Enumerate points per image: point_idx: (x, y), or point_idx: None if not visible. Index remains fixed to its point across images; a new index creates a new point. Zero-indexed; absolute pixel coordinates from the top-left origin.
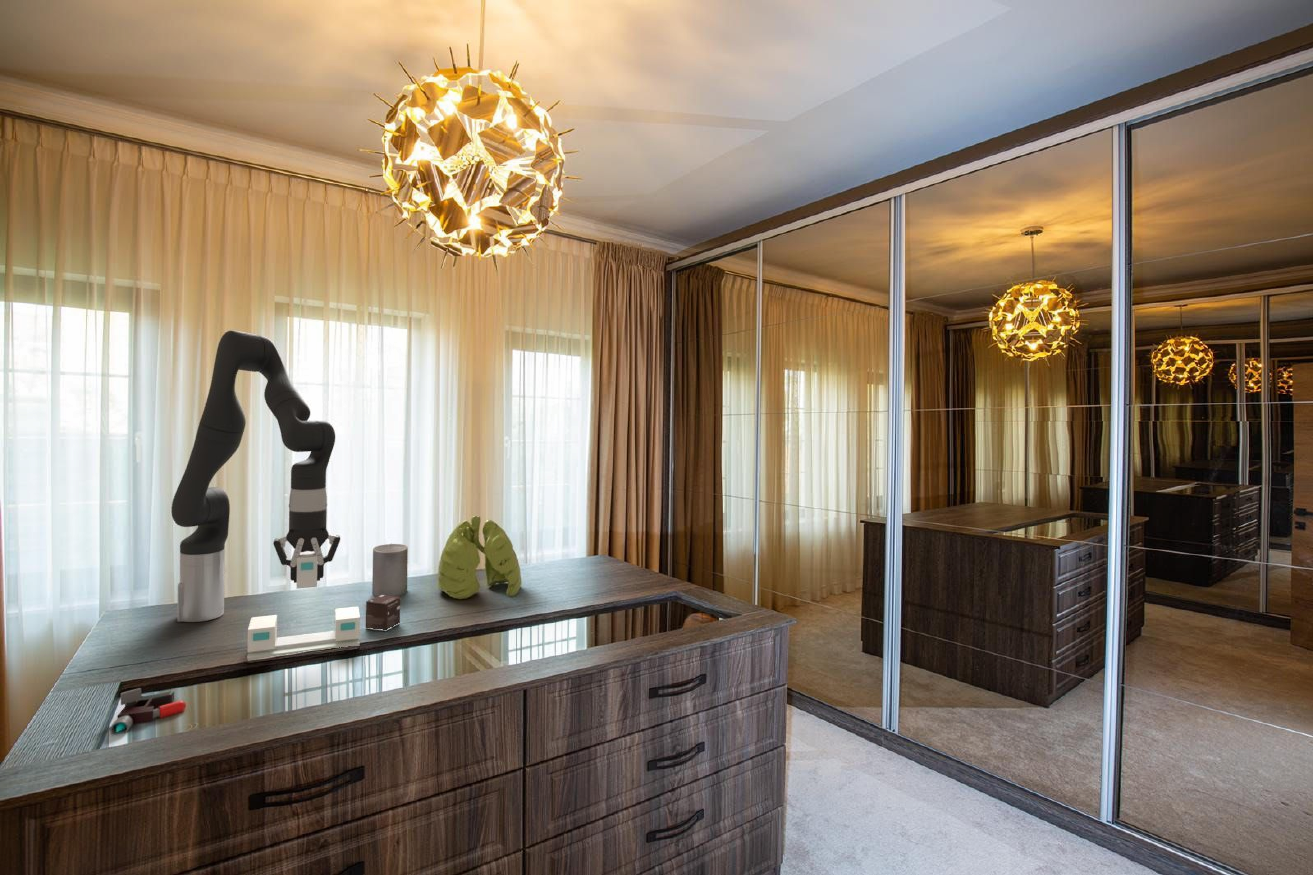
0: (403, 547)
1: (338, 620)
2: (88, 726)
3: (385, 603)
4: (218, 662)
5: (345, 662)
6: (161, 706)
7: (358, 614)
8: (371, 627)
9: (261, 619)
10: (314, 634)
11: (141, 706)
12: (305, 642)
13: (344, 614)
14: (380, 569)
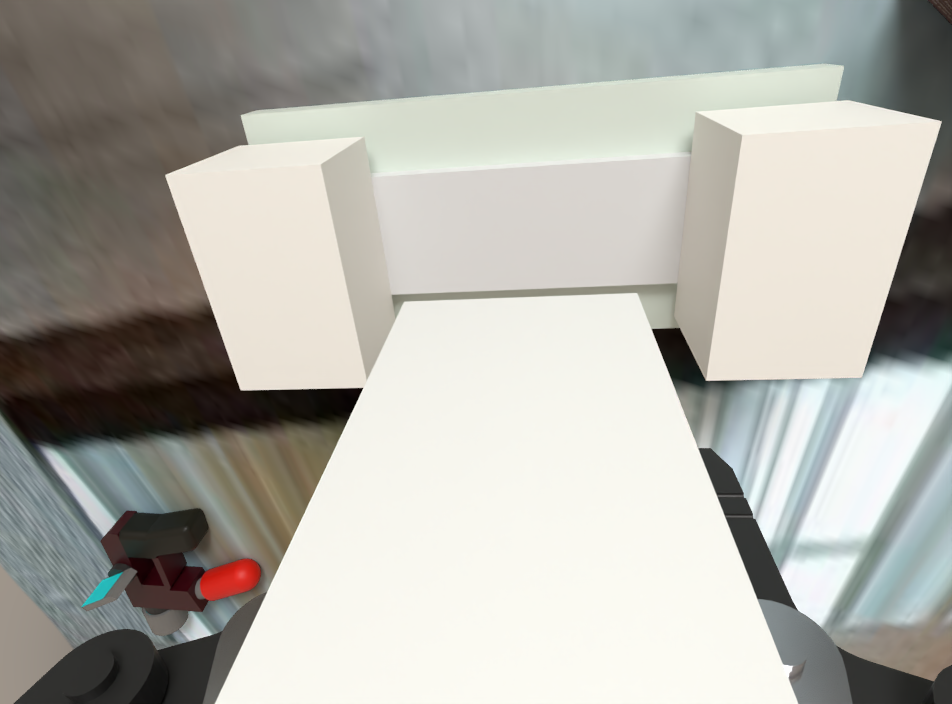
0: None
1: (720, 377)
2: (84, 564)
3: None
4: (189, 269)
5: (688, 422)
6: (208, 597)
7: (871, 324)
8: (946, 9)
9: (248, 240)
10: (570, 178)
11: (159, 586)
12: (528, 288)
13: (779, 294)
14: None
